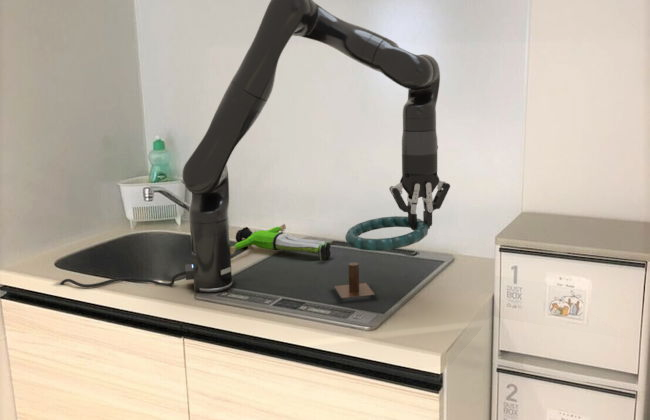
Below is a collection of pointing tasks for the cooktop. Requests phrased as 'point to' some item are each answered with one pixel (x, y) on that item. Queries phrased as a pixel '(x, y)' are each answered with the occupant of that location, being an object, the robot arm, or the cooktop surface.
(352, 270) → the ring toss
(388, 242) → the ring
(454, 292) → the cooktop surface
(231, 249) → the figurine
